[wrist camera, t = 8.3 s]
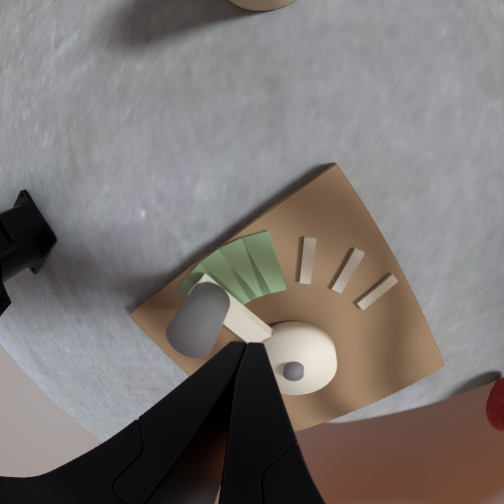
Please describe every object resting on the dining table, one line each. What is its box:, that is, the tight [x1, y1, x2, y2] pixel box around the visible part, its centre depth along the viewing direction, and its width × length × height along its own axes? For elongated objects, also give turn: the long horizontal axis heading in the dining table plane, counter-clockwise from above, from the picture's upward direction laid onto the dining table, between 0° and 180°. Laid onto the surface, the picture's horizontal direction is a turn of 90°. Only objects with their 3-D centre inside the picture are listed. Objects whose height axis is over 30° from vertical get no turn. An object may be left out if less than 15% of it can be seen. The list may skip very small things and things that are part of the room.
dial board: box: [129, 162, 445, 432], centre depth 21 cm, size 19×19×2 cm
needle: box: [166, 273, 337, 395], centre depth 17 cm, size 12×6×5 cm, turn 48°
